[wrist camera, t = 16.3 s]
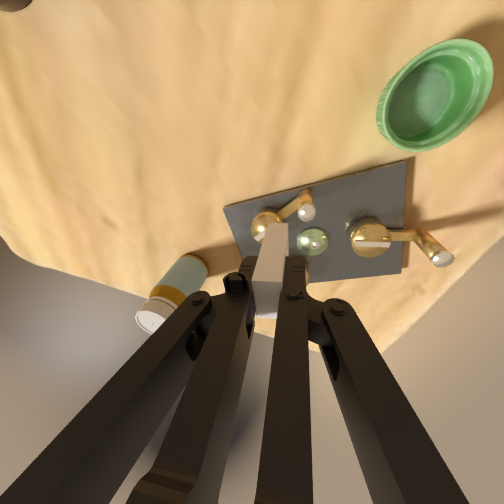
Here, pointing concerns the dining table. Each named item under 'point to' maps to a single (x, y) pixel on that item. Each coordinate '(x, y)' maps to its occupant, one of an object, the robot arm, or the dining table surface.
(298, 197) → the knob
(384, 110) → the ramekin
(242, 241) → the control panel
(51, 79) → the dining table surface
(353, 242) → the knob
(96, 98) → the dining table surface
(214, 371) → the robot arm
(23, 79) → the dining table surface
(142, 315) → the bottle
